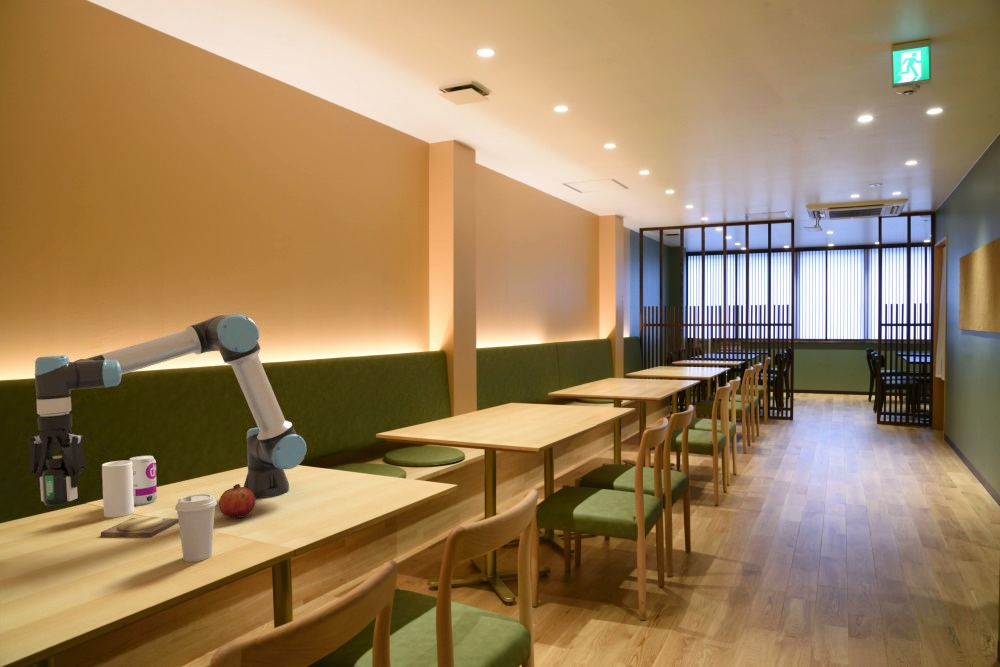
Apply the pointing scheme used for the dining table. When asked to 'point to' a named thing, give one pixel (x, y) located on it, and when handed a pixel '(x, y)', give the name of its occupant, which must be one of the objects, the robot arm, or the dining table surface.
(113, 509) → the cup
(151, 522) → the walnut board
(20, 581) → the dining table surface
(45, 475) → the supplement bottle
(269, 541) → the dining table surface
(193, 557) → the coffee cup
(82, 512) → the dining table surface
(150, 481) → the supplement can
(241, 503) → the fruit
